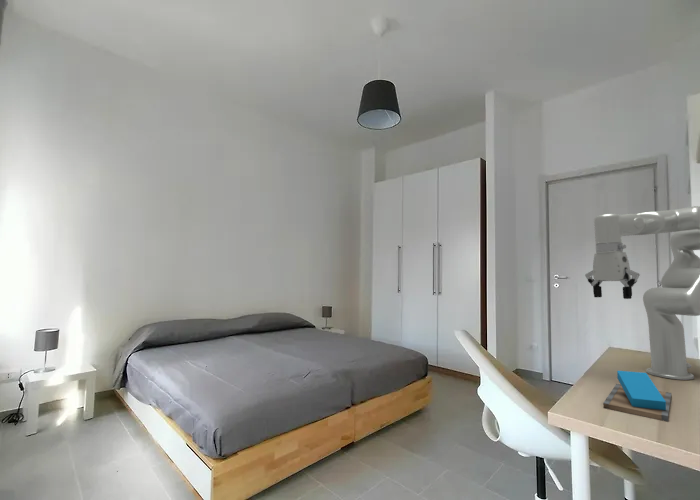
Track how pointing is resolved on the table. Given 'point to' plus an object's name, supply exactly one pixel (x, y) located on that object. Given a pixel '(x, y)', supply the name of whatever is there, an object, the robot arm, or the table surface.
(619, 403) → the ribbed board
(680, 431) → the table surface
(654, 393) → the lever
